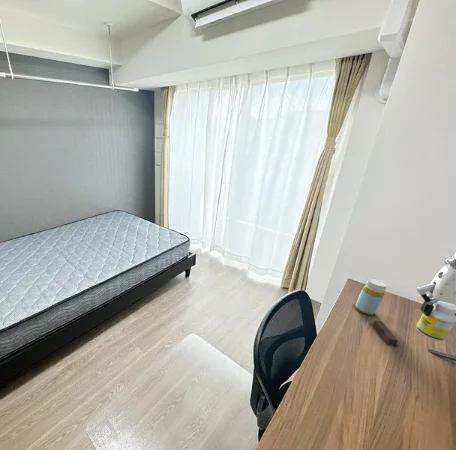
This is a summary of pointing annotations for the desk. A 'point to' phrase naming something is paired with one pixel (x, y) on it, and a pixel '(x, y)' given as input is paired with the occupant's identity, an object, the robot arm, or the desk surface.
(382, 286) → the bottle
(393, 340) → the walnut bar
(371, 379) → the desk surface
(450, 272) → the robot arm
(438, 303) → the pill bottle
